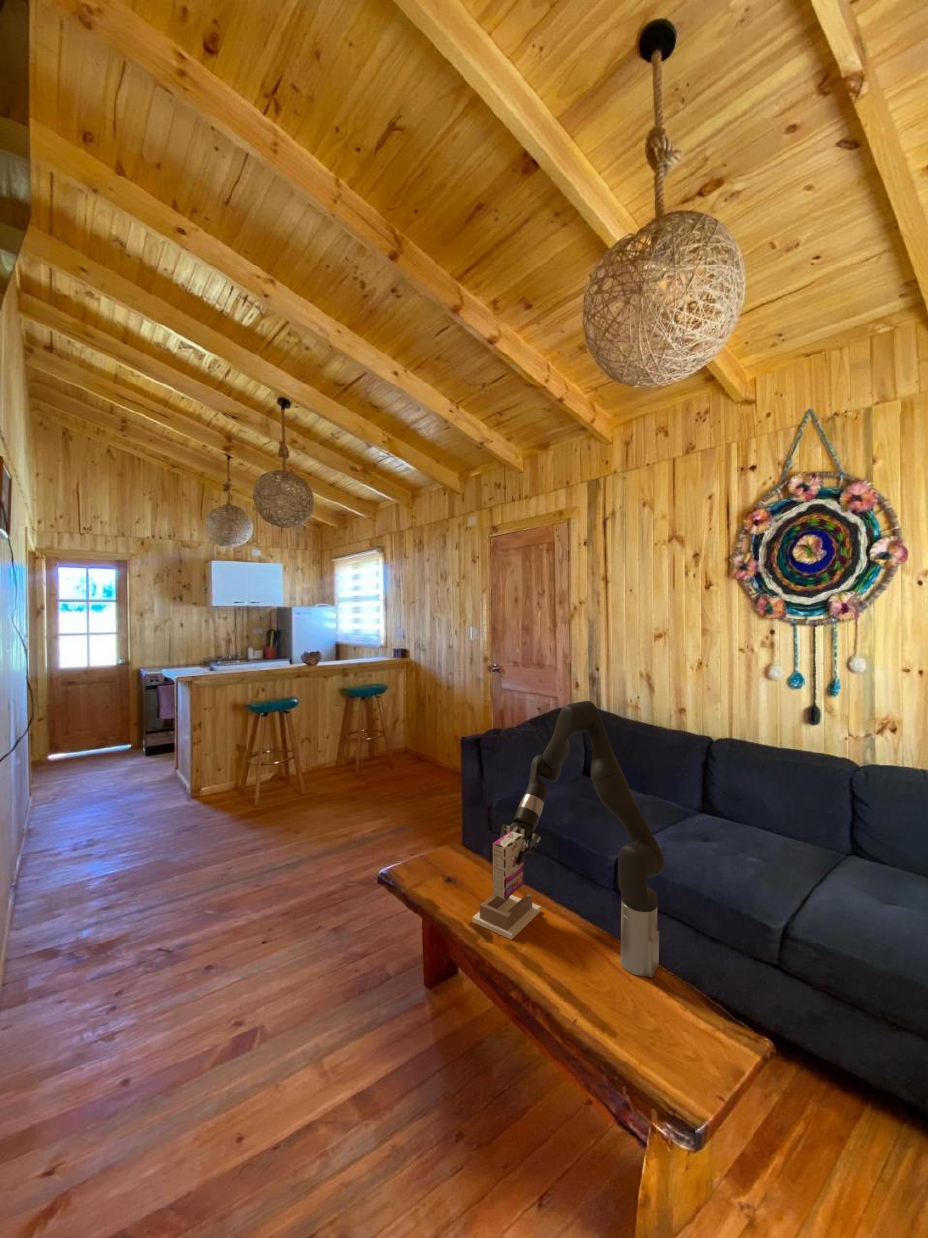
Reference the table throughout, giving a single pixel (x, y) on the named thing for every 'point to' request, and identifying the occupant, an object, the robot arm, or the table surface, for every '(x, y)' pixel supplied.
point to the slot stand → (506, 914)
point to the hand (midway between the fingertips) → (510, 861)
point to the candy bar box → (507, 865)
